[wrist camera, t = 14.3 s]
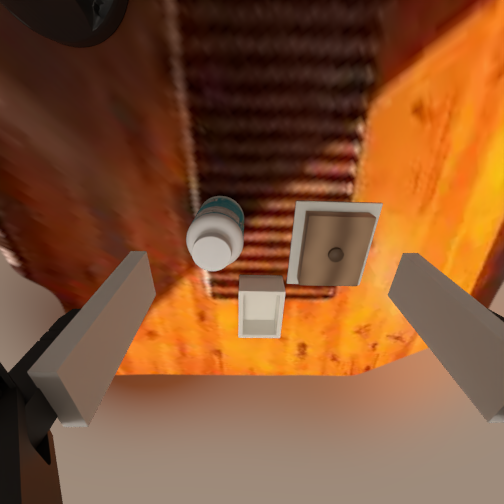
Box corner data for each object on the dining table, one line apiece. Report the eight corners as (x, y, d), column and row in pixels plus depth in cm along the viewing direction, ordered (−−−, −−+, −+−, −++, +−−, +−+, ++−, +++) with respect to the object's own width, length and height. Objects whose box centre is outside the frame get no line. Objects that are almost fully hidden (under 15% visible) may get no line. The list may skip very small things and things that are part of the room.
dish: (239, 319, 51) (238, 337, 47) (239, 274, 46) (238, 291, 42) (277, 319, 51) (280, 338, 47) (282, 275, 46) (285, 291, 42)
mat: (286, 282, 47) (286, 283, 47) (296, 200, 39) (296, 201, 39) (358, 283, 47) (359, 284, 47) (381, 202, 40) (382, 203, 39)
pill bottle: (230, 244, 43) (223, 290, 31) (192, 223, 41) (168, 264, 29) (253, 209, 40) (254, 246, 28) (213, 185, 38) (196, 213, 26)
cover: (296, 277, 46) (299, 287, 43) (306, 210, 40) (310, 217, 37) (351, 278, 46) (358, 288, 43) (369, 212, 40) (378, 219, 37)
